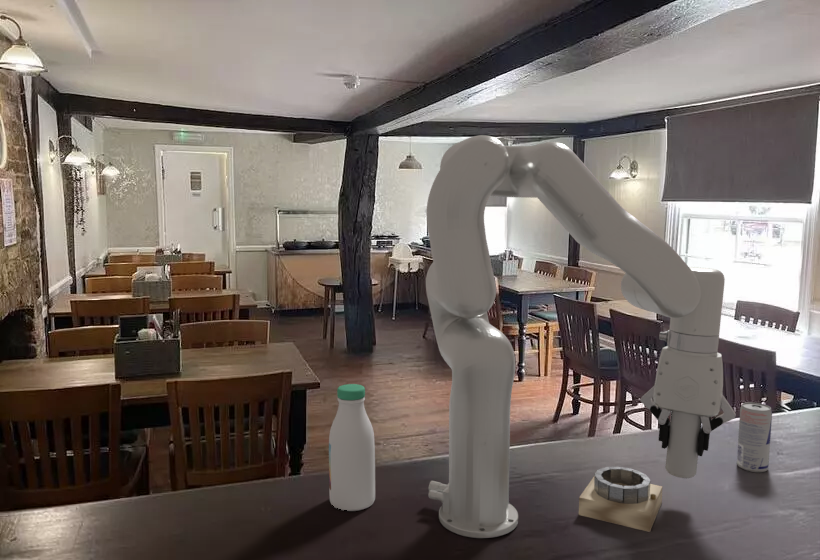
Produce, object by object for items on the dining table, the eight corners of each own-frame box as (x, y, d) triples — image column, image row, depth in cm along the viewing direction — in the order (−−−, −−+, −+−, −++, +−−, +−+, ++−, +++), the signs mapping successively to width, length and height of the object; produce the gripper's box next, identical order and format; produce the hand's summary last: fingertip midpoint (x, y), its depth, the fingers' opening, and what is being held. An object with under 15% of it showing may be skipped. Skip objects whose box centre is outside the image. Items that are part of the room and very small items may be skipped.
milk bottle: (384, 501, 110) (384, 386, 108) (350, 517, 105) (349, 396, 102) (354, 487, 115) (352, 378, 113) (320, 502, 110) (318, 387, 107)
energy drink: (769, 465, 125) (773, 405, 123) (767, 475, 120) (771, 412, 119) (738, 459, 128) (741, 400, 126) (735, 468, 123) (738, 407, 122)
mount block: (578, 514, 105) (579, 493, 105) (595, 489, 115) (596, 469, 114) (649, 532, 100) (650, 509, 99) (661, 503, 109) (662, 482, 109)
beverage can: (698, 481, 106) (706, 410, 105) (667, 477, 107) (675, 407, 106) (692, 469, 111) (699, 401, 110) (662, 466, 112) (669, 398, 111)
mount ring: (589, 496, 105) (589, 481, 105) (601, 476, 113) (602, 463, 112) (643, 508, 101) (644, 493, 101) (653, 487, 108) (654, 473, 108)
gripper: (634, 339, 107) (625, 445, 109) (750, 354, 99) (737, 469, 101) (643, 332, 114) (634, 432, 116) (752, 346, 105) (740, 454, 107)
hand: (682, 448), depth 108 cm, fingers closed on beverage can, 4 cm apart
